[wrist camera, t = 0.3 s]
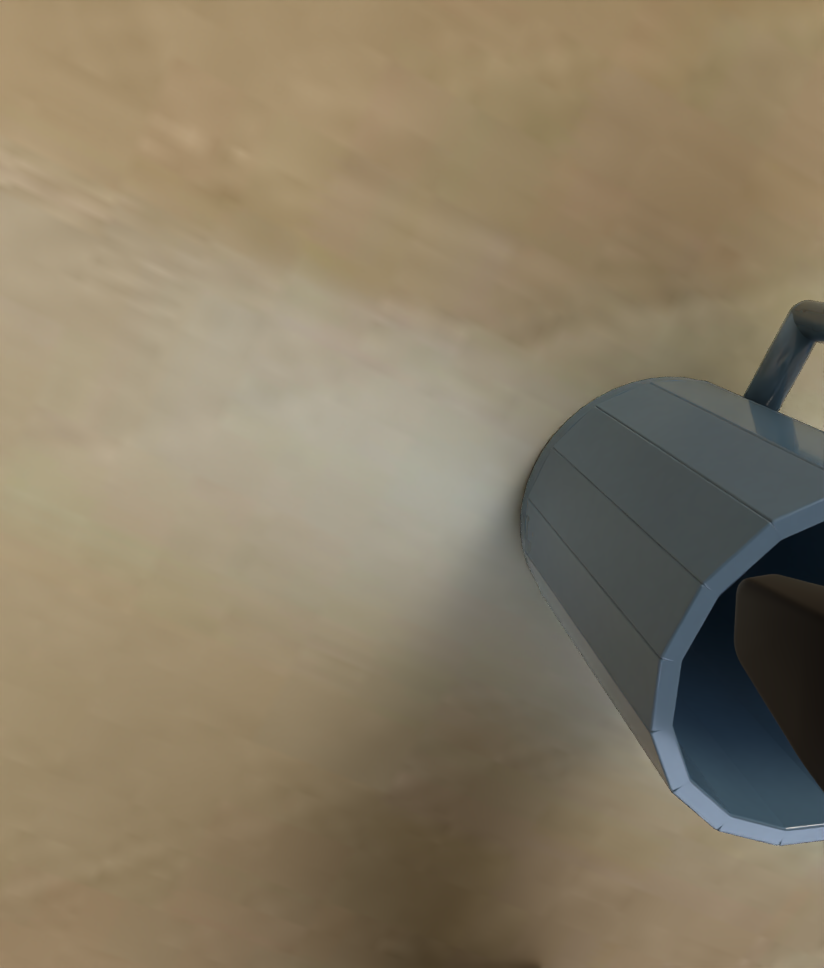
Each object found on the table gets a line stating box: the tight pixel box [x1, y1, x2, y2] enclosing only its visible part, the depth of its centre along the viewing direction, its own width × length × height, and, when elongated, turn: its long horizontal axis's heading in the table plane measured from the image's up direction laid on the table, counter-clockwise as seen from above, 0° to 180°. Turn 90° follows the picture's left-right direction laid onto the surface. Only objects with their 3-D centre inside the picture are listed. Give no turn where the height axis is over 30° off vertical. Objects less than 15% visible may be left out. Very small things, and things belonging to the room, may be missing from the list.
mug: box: [520, 300, 824, 846], centre depth 20 cm, size 12×9×10 cm
